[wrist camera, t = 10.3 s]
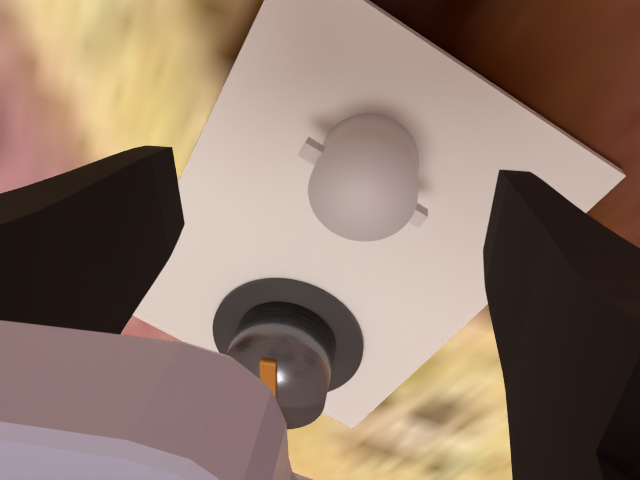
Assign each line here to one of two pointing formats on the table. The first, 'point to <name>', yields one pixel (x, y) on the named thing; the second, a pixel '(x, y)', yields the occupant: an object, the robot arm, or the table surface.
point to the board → (276, 185)
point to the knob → (288, 356)
